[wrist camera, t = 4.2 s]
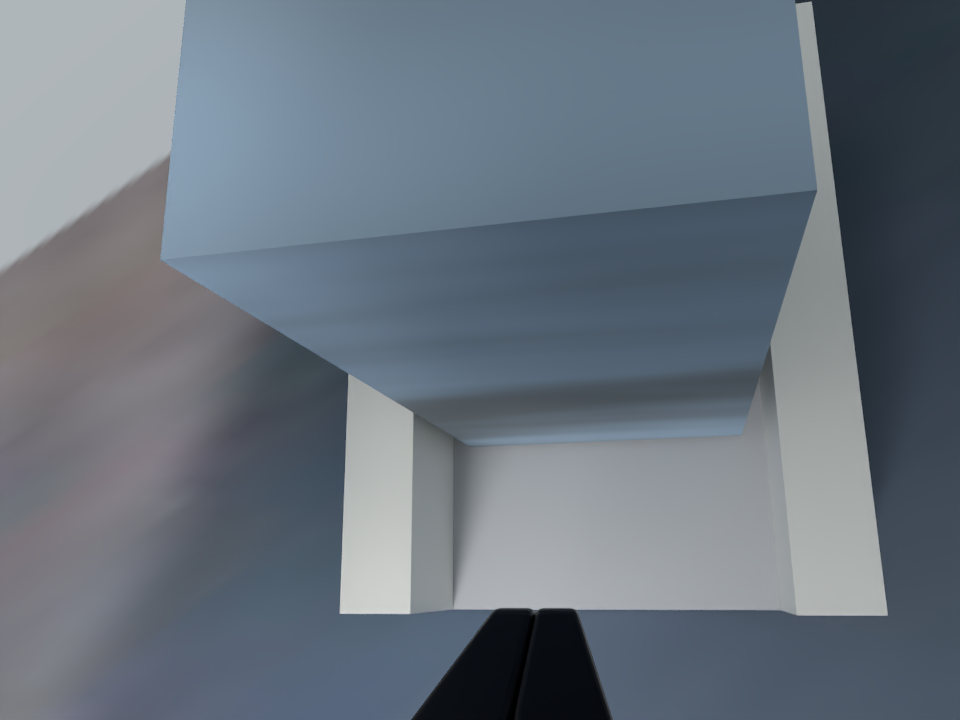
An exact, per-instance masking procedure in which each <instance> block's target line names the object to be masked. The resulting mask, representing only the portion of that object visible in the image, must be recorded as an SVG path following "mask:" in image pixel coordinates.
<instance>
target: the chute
mask: <svg viewBox="0 0 960 720" xmlns="http://www.w3.org/2000/svg"><path fill="white" fill-rule="evenodd" d="M796 13H797V21H798V30H799V38H800V47H801V55H802V64H803V72H804V81H805V89H806V98H807V106H808V115H809V123H810V132H811V140H812V148H813V157H814V165H815V174H816V182H817V193H816V196H815V199H814V203H813V206H812V209H811V212H810V216H809V219H808V222H807V225H806V229H805V232H804V235H803V238H802V242H801V245H800V248H799V251H798V254H797V258H796V261H795V264H794V267H793V271H792V274H791V277H790V280H789V284H788V287H787V290H786V293H785V297H784V300H783V303H782V306H781V309H780V313H779V316H778V319H777V322H776V326H775V329H774V332H773V335H772V339H771V342H770V345H769V348H768V352H767V355H766V358H765V361H764V365H763V368H762V371H761V374H760V377H759V381H758V384H757V387H756V390H755V394H754V397H753V400H752V403H751V407H750V410H749V413H748V416H747V420H746V423H745V426H744V429H743V433H742V435H738V436H715V437H692V438H669V439H646V440H623V441H601V442H578V443H555V444H532V445H509V446H486V447H470V446H468V445H466V444H465V443H463V442H461V441H460V440H458V439H456V438H455V437H453V436H451V435H450V434H448V433H446V432H445V431H443V430H441V429H440V428H438V427H436V426H435V425H433V424H431V423H430V422H428V421H426V420H425V419H423V418H422V417H420V416H418V415H417V414H415V413H413V412H412V411H410V410H408V409H407V408H405V407H403V406H402V405H400V404H398V403H397V402H395V401H393V400H392V399H390V398H388V397H387V396H385V395H383V394H382V393H380V392H378V391H377V390H375V389H373V388H372V387H370V386H368V385H367V384H365V383H363V382H362V381H360V380H359V379H357V378H355V377H354V376H352V375H350V374H349V376H348V403H347V431H346V458H345V485H344V513H343V540H342V567H341V594H340V614H415V613H424V612H433V611H443V610H452V609H498V608H530V609H532V610H539V609H541V608H573V609H575V610H781V611H785V612H788V613H791V614H794V615H811V616H888V613H887V605H886V597H885V588H884V580H883V572H882V564H881V556H880V548H879V540H878V532H877V524H876V516H875V508H874V500H873V492H872V484H871V475H870V467H869V459H868V451H867V443H866V435H865V427H864V419H863V411H862V403H861V395H860V387H859V379H858V371H857V363H856V354H855V346H854V338H853V330H852V322H851V314H850V306H849V298H848V290H847V282H846V274H845V266H844V258H843V250H842V241H841V233H840V225H839V217H838V209H837V201H836V193H835V185H834V177H833V169H832V161H831V153H830V145H829V137H828V128H827V120H826V112H825V104H824V96H823V88H822V80H821V72H820V64H819V56H818V48H817V40H816V32H815V24H814V16H813V7H812V1H811V2H805V3H798V4H796Z"/></svg>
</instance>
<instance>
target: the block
mask: <svg viewBox="0 0 960 720" xmlns="http://www.w3.org/2000/svg"><path fill="white" fill-rule="evenodd" d="M816 193H817V182H816V174H815V165H814V157H813V148H812V140H811V132H810V123H809V115H808V106H807V98H806V89H805V81H804V72H803V64H802V55H801V47H800V38H799V30H798V21H797V13H796V4H795V0H186V7H185V18H184V27H183V37H182V47H181V57H180V68H179V77H178V87H177V98H176V108H175V117H174V127H173V138H172V147H171V157H170V167H169V177H168V188H167V198H166V208H165V218H164V228H163V238H162V248H161V258H160V260H161V261H163V262H165V263H166V264H168V265H170V266H171V267H173V268H174V269H176V270H178V271H179V272H181V273H183V274H184V275H186V276H188V277H189V278H191V279H193V280H194V281H196V282H198V283H199V284H201V285H203V286H204V287H206V288H208V289H209V290H211V291H213V292H214V293H216V294H218V295H219V296H221V297H223V298H224V299H226V300H228V301H229V302H231V303H233V304H234V305H236V306H237V307H239V308H241V309H242V310H244V311H246V312H247V313H249V314H251V315H252V316H254V317H256V318H257V319H259V320H261V321H262V322H264V323H266V324H267V325H269V326H271V327H272V328H274V329H276V330H277V331H279V332H281V333H282V334H284V335H286V336H287V337H289V338H291V339H292V340H294V341H296V342H297V343H299V344H300V345H302V346H304V347H305V348H307V349H309V350H310V351H312V352H314V353H315V354H317V355H319V356H320V357H322V358H324V359H325V360H327V361H329V362H330V363H332V364H334V365H335V366H337V367H339V368H340V369H342V370H344V371H345V372H347V373H349V374H350V375H352V376H354V377H355V378H357V379H359V380H360V381H362V382H363V383H365V384H367V385H368V386H370V387H372V388H373V389H375V390H377V391H378V392H380V393H382V394H383V395H385V396H387V397H388V398H390V399H392V400H393V401H395V402H397V403H398V404H400V405H402V406H403V407H405V408H407V409H408V410H410V411H412V412H413V413H415V414H417V415H418V416H420V417H422V418H423V419H425V420H426V421H428V422H430V423H431V424H433V425H435V426H436V427H438V428H440V429H441V430H443V431H445V432H446V433H448V434H450V435H451V436H453V437H455V438H456V439H458V440H460V441H461V442H463V443H465V444H466V445H468V446H470V447H486V446H509V445H532V444H555V443H578V442H601V441H623V440H646V439H669V438H692V437H715V436H738V435H742V433H743V429H744V426H745V423H746V420H747V416H748V413H749V410H750V407H751V403H752V400H753V397H754V394H755V390H756V387H757V384H758V381H759V377H760V374H761V371H762V368H763V365H764V361H765V358H766V355H767V352H768V348H769V345H770V342H771V339H772V335H773V332H774V329H775V326H776V322H777V319H778V316H779V313H780V309H781V306H782V303H783V300H784V297H785V293H786V290H787V287H788V284H789V280H790V277H791V274H792V271H793V267H794V264H795V261H796V258H797V254H798V251H799V248H800V245H801V242H802V238H803V235H804V232H805V229H806V225H807V222H808V219H809V216H810V212H811V209H812V206H813V203H814V199H815V196H816Z"/></svg>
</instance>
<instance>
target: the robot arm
mask: <svg viewBox="0 0 960 720" xmlns="http://www.w3.org/2000/svg"><path fill="white" fill-rule="evenodd" d="M411 720H613V718H612V715H611V712H610V709H609V706H608V703H607V700H606V697H605V694H604V691H603V688H602V685H601V682H600V678H599V675H598V672H597V669H596V666H595V663H594V660H593V657H592V654H591V651H590V648H589V645H588V642H587V638H586V635H585V632H584V629H583V626H582V623H581V620H580V617H579V615H578V612H577V611H576V610H575V609H573V608H541V609H539V610H538V611H537V613H535V611H534V610H532V609H530V608H498V609H496V610H495V611H493V612H492V613H491V614H490V616H489V617H488V618H487V619H486V621H485V622H484V623H483V625H482V626H481V627H480V629H479V630H478V631H477V633H476V634H475V635H474V637H473V638H472V639H471V641H470V642H469V643H468V645H467V646H466V647H465V649H464V650H463V651H462V653H461V654H460V655H459V657H458V658H457V659H456V661H455V662H454V663H453V665H452V666H451V667H450V669H449V670H448V671H447V673H446V674H445V675H444V677H443V678H442V679H441V681H440V682H439V683H438V685H437V686H436V687H435V689H434V690H433V691H432V693H431V694H430V695H429V697H428V698H427V699H426V701H425V702H424V703H423V705H422V706H421V707H420V709H419V710H418V711H417V713H416V714H415V715H414V717H413V718H412V719H411Z"/></svg>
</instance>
